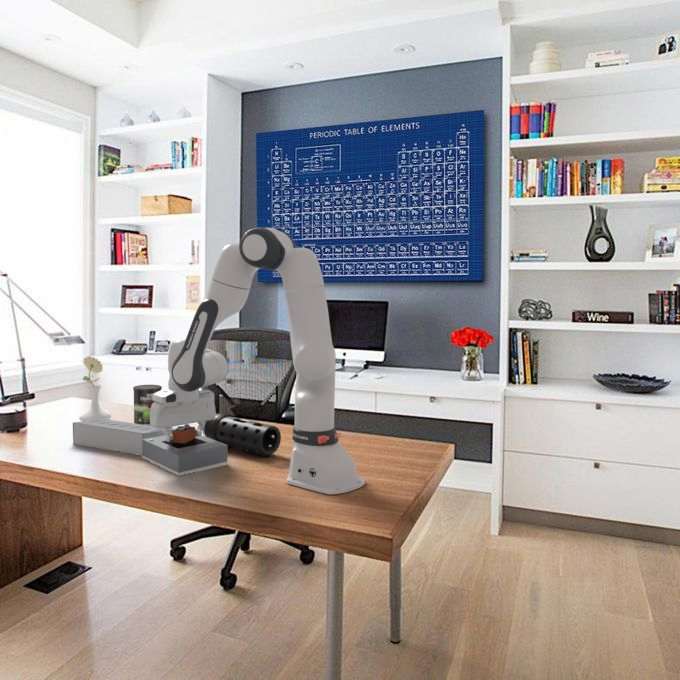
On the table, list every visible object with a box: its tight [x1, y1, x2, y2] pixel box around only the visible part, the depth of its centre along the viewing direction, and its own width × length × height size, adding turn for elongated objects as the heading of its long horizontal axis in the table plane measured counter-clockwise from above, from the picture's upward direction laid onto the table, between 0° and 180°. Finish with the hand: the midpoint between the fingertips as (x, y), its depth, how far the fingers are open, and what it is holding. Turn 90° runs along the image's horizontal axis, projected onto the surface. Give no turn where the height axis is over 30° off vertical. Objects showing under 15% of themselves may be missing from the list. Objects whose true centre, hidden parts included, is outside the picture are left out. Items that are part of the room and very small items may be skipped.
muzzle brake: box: [202, 412, 282, 458], centre depth 190 cm, size 10×28×10 cm, turn 53°
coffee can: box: [132, 384, 163, 426], centre depth 223 cm, size 10×10×14 cm
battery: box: [172, 424, 196, 449], centre depth 176 cm, size 4×7×10 cm, turn 164°
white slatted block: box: [72, 419, 175, 456], centre depth 194 cm, size 30×14×8 cm, turn 66°
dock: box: [141, 434, 229, 476], centre depth 176 cm, size 22×16×6 cm
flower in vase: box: [78, 356, 112, 422], centre depth 224 cm, size 13×11×25 cm
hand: (184, 438), depth 176 cm, fingers open, 8 cm apart
